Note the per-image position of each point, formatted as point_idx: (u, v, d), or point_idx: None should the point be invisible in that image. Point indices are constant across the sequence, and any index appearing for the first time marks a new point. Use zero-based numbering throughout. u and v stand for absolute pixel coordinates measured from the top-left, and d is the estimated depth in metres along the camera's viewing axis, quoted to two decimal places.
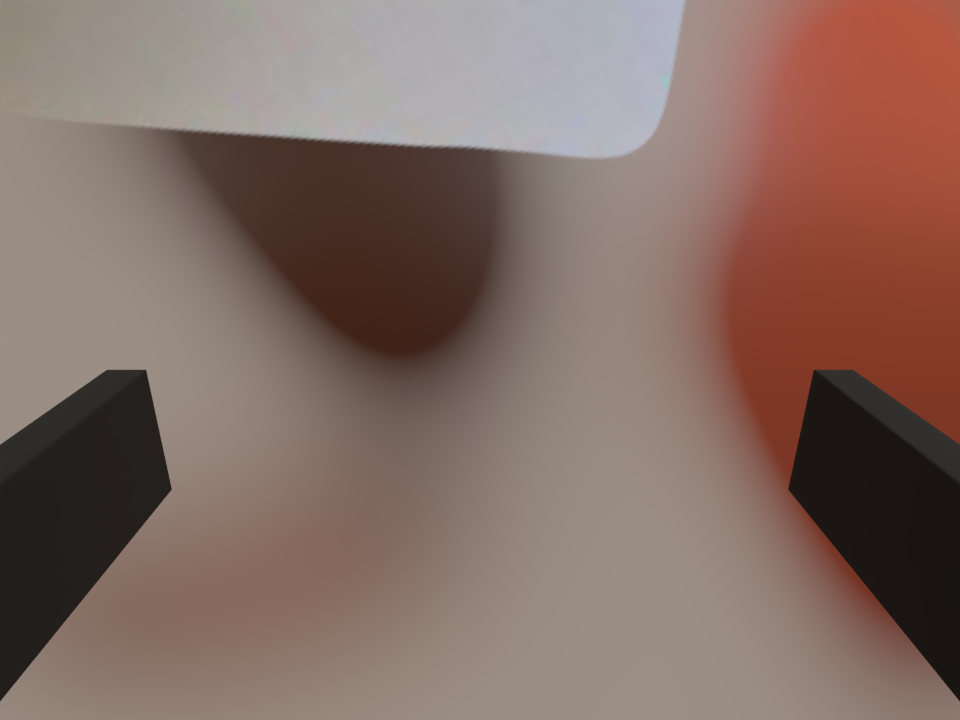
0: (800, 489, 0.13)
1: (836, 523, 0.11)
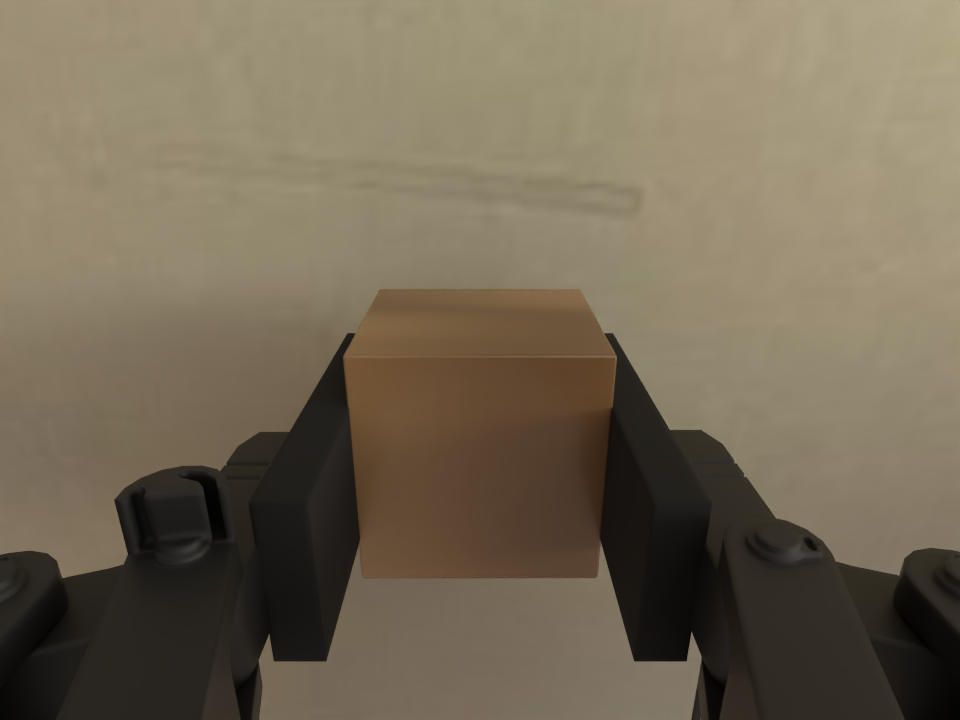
0: None
1: None
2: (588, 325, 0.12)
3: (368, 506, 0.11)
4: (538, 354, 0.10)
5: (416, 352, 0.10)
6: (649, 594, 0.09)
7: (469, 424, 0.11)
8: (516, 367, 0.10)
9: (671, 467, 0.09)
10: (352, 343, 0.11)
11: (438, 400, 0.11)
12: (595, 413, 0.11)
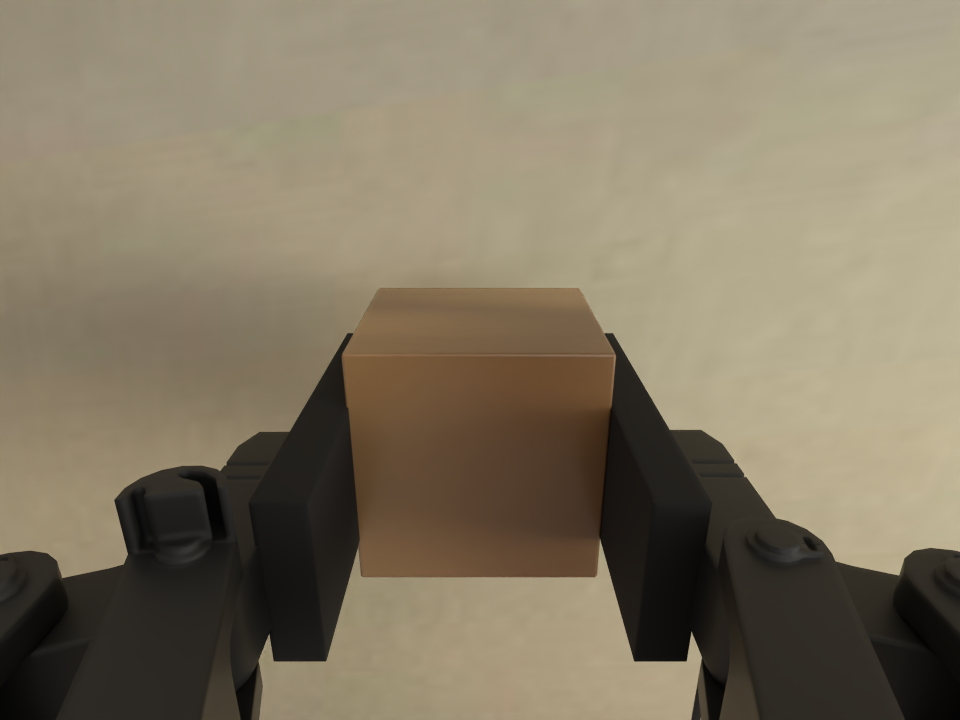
0: None
1: None
2: (587, 324, 0.12)
3: (367, 505, 0.11)
4: (537, 353, 0.10)
5: (415, 350, 0.10)
6: (649, 594, 0.09)
7: (468, 423, 0.11)
8: (514, 365, 0.10)
9: (671, 467, 0.09)
10: (350, 342, 0.11)
11: (437, 398, 0.10)
12: (594, 412, 0.11)
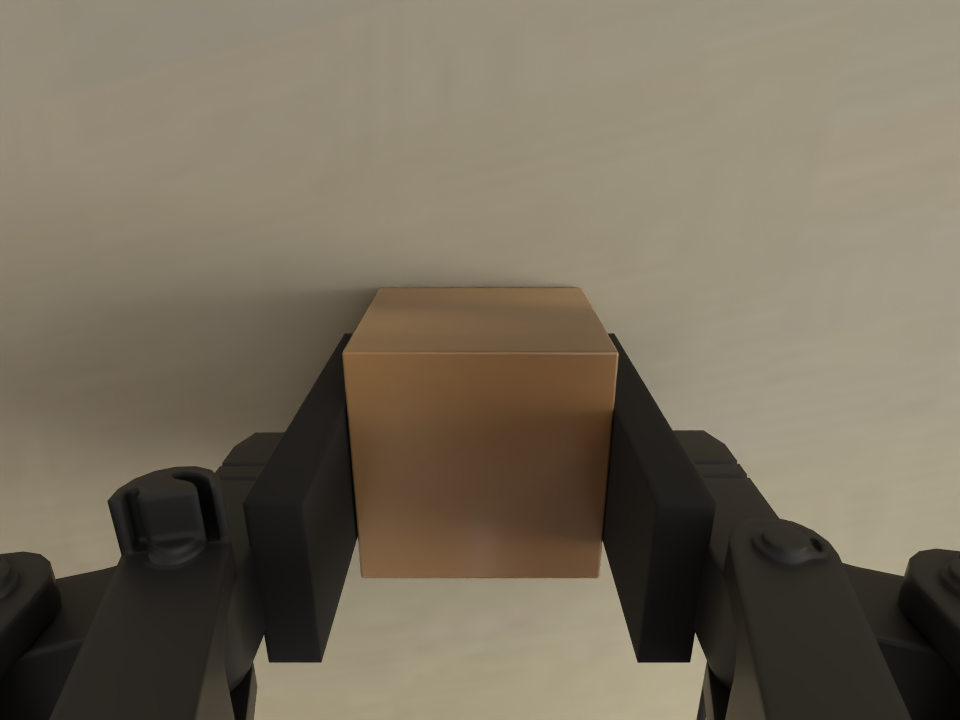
0: None
1: None
2: (589, 322, 0.12)
3: (367, 505, 0.11)
4: (539, 350, 0.10)
5: (416, 348, 0.10)
6: (652, 595, 0.09)
7: (469, 421, 0.11)
8: (516, 364, 0.10)
9: (674, 468, 0.09)
10: (351, 340, 0.11)
11: (438, 397, 0.10)
12: (596, 410, 0.10)
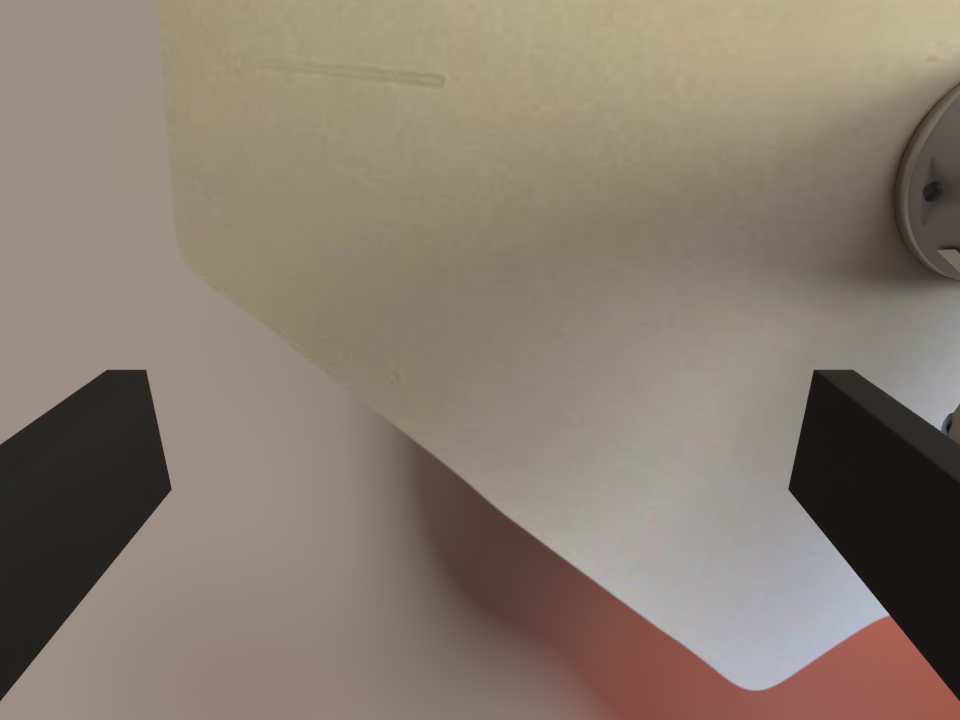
0: (800, 489, 0.13)
1: (836, 523, 0.11)
2: None
3: None
4: None
5: None
6: None
7: None
8: None
9: None
10: None
11: None
12: None
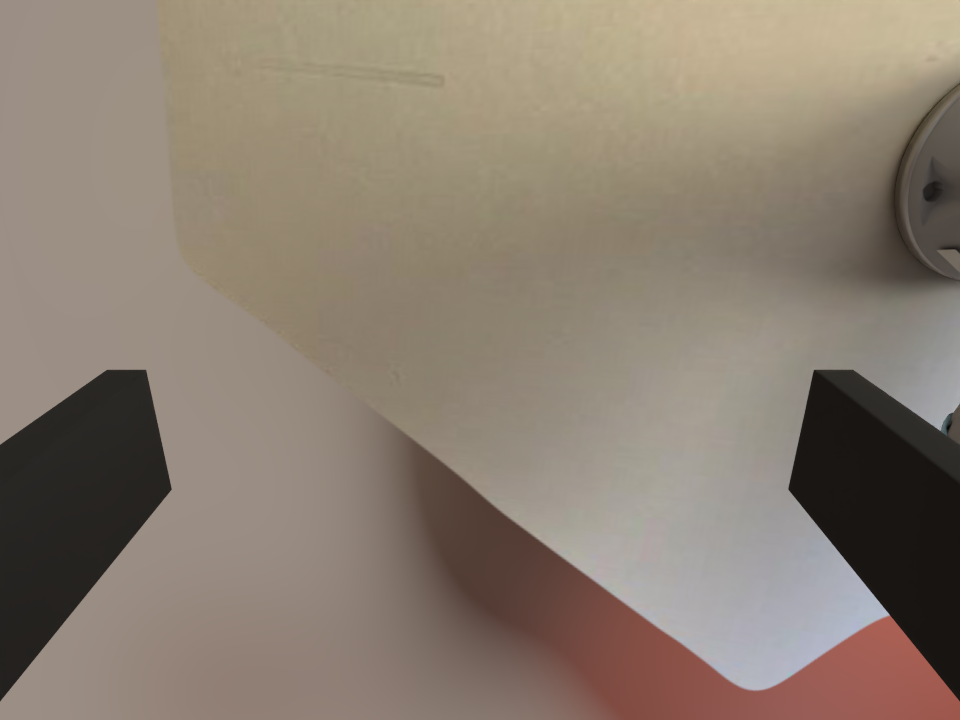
0: (800, 489, 0.13)
1: (836, 523, 0.11)
2: None
3: None
4: None
5: None
6: None
7: None
8: None
9: None
10: None
11: None
12: None
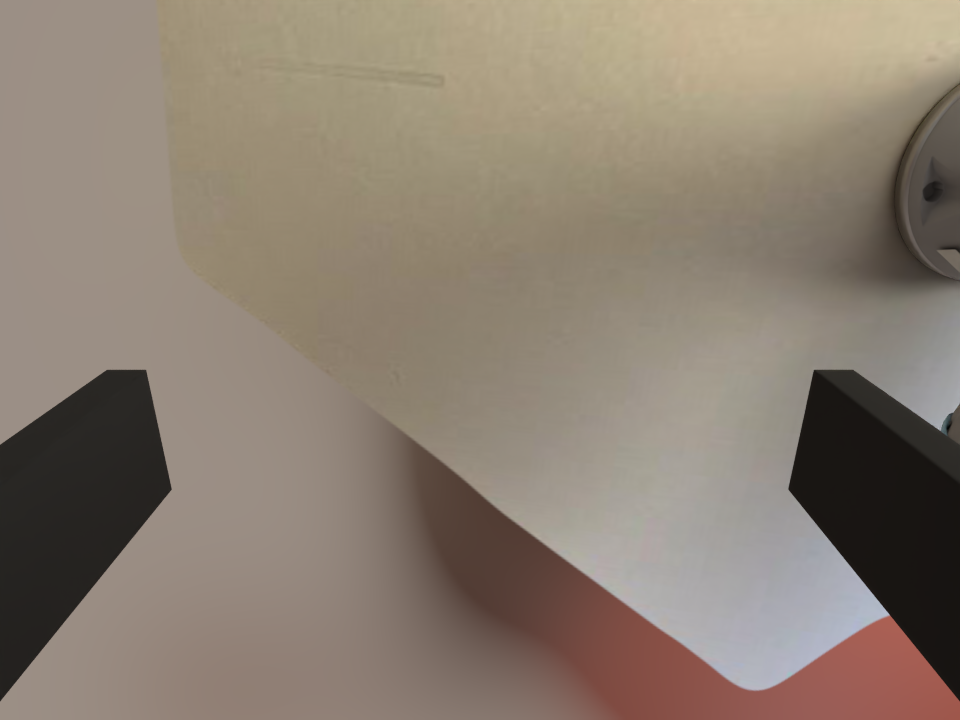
0: (800, 489, 0.13)
1: (836, 523, 0.11)
2: None
3: None
4: None
5: None
6: None
7: None
8: None
9: None
10: None
11: None
12: None
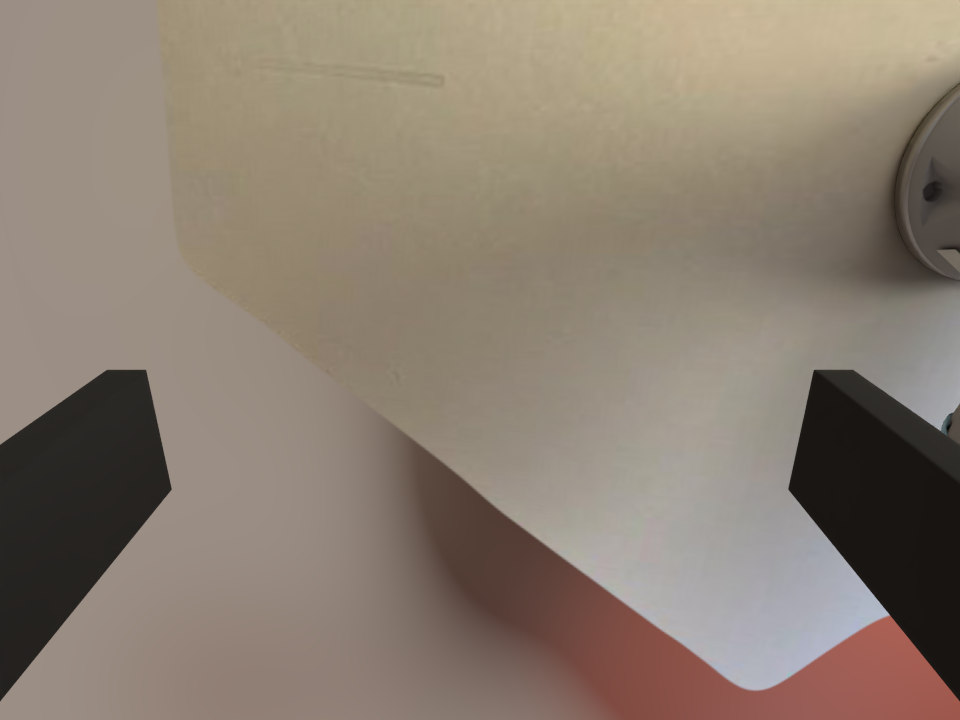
0: (800, 489, 0.13)
1: (836, 523, 0.11)
2: None
3: None
4: None
5: None
6: None
7: None
8: None
9: None
10: None
11: None
12: None
